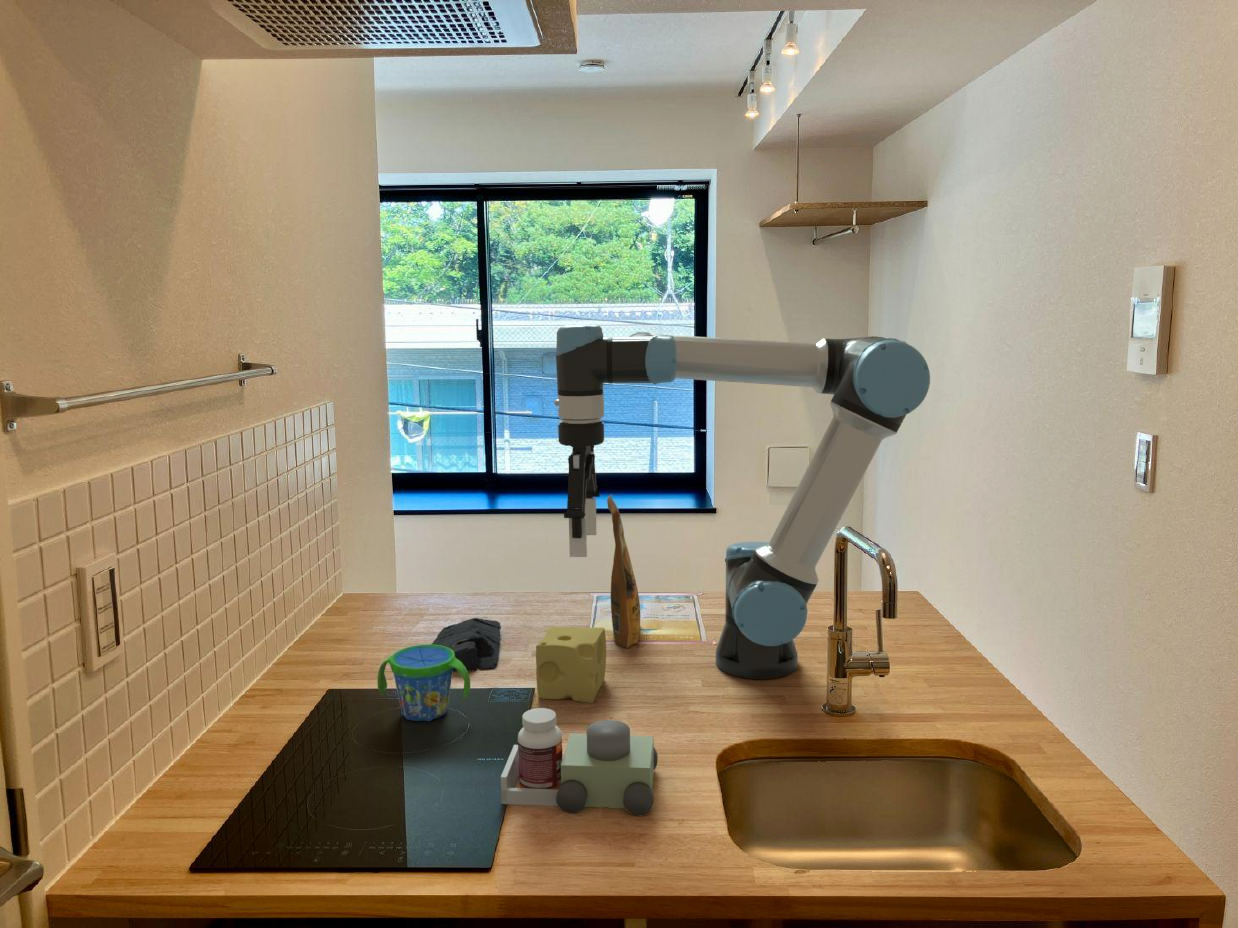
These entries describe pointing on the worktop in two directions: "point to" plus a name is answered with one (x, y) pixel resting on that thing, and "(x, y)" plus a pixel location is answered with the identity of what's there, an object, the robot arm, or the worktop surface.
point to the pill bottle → (539, 750)
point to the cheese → (571, 663)
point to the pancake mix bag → (623, 587)
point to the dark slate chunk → (472, 642)
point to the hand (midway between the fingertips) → (583, 545)
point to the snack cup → (423, 680)
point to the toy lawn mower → (594, 772)
